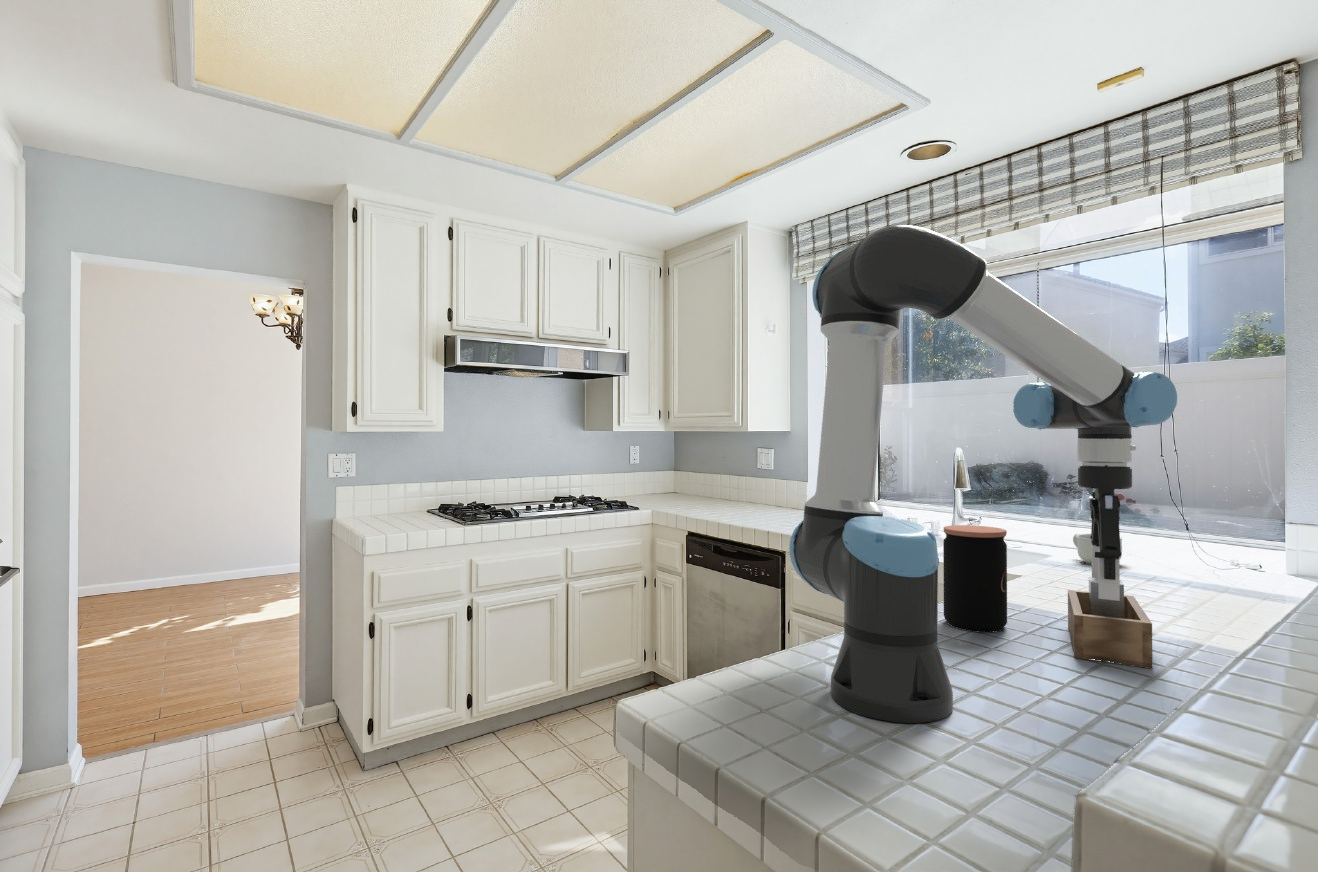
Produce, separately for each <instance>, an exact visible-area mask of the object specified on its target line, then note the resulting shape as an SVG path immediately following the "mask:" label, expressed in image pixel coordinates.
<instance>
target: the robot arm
mask: <svg viewBox="0 0 1318 872" xmlns="http://www.w3.org/2000/svg"><path fill="white" fill-rule="evenodd" d="M811 294H812V302H813V306H814V308H815V311H817V312H818V315H819V317H820V332H821V334H823V336H824V337H825V338H826V339H827V340H828V353H827V354H828V355H827V366H826V373H825V374H826V376H825V387H824V398H823V410H822V412H823V413H822V422H821V431H820V443H819V445H820V446H819V454H818V455H819V456H818V467H817V478H816V488H815V494H814V495H813V496H811V497H810V498H808V500H807V501H805V503H804V508H803V509H804V510H803V518H802V520H801V522H800V523H799V524H798V525H797V526H796V527H795V528H794V530H793V532H792V534H791V537H790V541H789V548H788V549H789V558H790V561H791V564H792V566H793V569H794V570H795V572H796V574H797V575H798V576H799V577H800V578H801V580H803V581H804V582H805V583H806V584H808V586H810V587H812V589H814V590H815V591H818V592H820V593H823V594H824V595H828V596H830V597H832V598H835V599H837V600H839V601H840V602H843V610H844V611H843V622H844V623H843V625H844V626H843V629H844V631H843V632H844V633H843V638H842V642H841V644H840V649H839V650H838V654H837V657H836V660H835V663H834V666H833V668H832V671H831V677H830V695H831V698H832V699H833V700H834V702H836V703H837V704H838V705H840V706H841V707H842V708H844V709H846V710H848V711H850V712H853V713H855V714H858V715H860V716H864V717H867V718H872V719H874V720H875V719H876V720H881V721H886V722H893V723H906V724H907V723H908V724H914V723H915V724H918V723H919V724H920V723H930V722H935V721H939V720H942V719H944V718H946V717H949V716H950V715H951V714H952V712H953V711H954V703H953V702H954V699H953V698H954V697H953V696H954V694H953V688H952V685H951V681H950V679H949V676H948V672H947V670H946V665H945V664H944V660H943V658H942V655H941V654H942V653H941V651H940V648H939V641H938V637H939V635H938V632H939V631H938V628H939V627H938V625H939V623H938V619H939V618H938V613H939V612H938V609H939V608H938V607H939V605H938V604H939V603H938V602H939V601H938V598H939V597H938V596H939V594H938V593H939V591H938V590H939V588H938V587H939V586H938V585H939V584H938V583H939V582H938V581H939V573H938V572H939V569H938V568H939V564H940V559H939V553H938V543H937V538H936V536H935V534H934V533H933V532H932V531H931V529H929V527H926V526H925V525H923V524H920V523H918V522H914V521H911V520H909V519H908V520H907V519H902V518H901V519H898V518H895V517H892V516H883V515H884V511H883V509H881V507H880V506H879V505H878V504H877V502H876V501H875V488H876V476H877V474H876V473H877V465H878V464H877V463H878V451H879V442H880V441H879V439H880V429H881V428H880V427H881V419H882V418H881V417H882V406H883V405H882V404H883V395H884V394H883V392H884V381H885V373H886V371H885V370H886V369H885V368H886V357H887V347H888V346H887V345H888V344H889V342H890V341H892V340H893V339H894V338H895V337H896V336H898V335H899V329H900V328H899V327H900V319H901V318H900V317H901V311H902V310H903V309H913V310H917V311H918V310H919V311H921V312H924V313H925V314H927V315H929V316H930V317H932V318H934V319H935V320H937V321H943V320H947V319H949V320H951V321H952V322H954V323H956V324H957V325H959V326H960V327H962V328H963V329H964V330H966V331H968V332H969V333H970V334H972V335H973V336H975V337H977V338H978V339H980V340H981V341H983V342H984V343H986V344H987V345H989V346H990V347H991V348H993V349H995V350H997V351H998V352H1000V353H1001V354H1002V355H1004V356H1006V357H1007V358H1008V359H1010V360H1011V361H1013V362H1014V363H1016V364H1018V365H1019V366H1021V367H1022V368H1024V369H1025V370H1027V371H1029V372H1030V373H1031V374H1033V375H1035V376H1036V377H1038V378H1039V379H1041V381H1042V382H1033V383H1032V382H1030V383H1026V384H1025V385H1023V386H1021V387H1020V388H1019V389H1018V391H1017V392H1016V394H1014V395H1015V396H1014V398H1013V401H1012V402H1013V403H1012V404H1013V415H1014V417H1015V419H1016V421H1017V422H1018V423H1019V424H1020V425H1021V426H1023V427H1025V428H1029V429H1037V430H1040V431H1041V430H1047V429H1049V430H1051V429H1052V430H1057V429H1058V430H1063V429H1064V430H1068V429H1069V430H1070V429H1071V430H1073V429H1074V430H1077V461H1078V462H1079V463H1081V465H1079V467H1077V485H1078V486H1079V488H1083V489H1084V488H1086V489H1095V490H1093V491H1092V492H1091V497H1090V498H1089V508H1090V519H1091V531H1090V534H1091V536H1090V538H1091V540H1092V541H1091V543H1092V545H1095V546H1092V564H1091V578H1098V582H1099V599H1107V600H1116V601H1120V580H1121V578H1120V570H1121V569H1120V563H1121V562H1120V561H1121V559H1119V557H1121V558H1122V556H1121V555H1123V551H1122V552H1121V549H1120V537H1121V535H1120V533H1121V532H1120V519H1121V518H1120V510H1121V501H1120V498H1119V496H1118V495H1115V490H1129V489H1131V488H1132V487H1133V468H1131V466H1128V464H1130V463H1132V455H1133V454H1132V452H1134V451H1136V450H1137V446H1136V445H1134V444H1132V438H1133V437H1132V435H1133V434H1132V428H1139V427H1145V426H1146V427H1147V426H1156V425H1160V424H1162V423H1165V422H1166V421H1167V420H1169V419H1170V418H1171V417H1172V415H1173V414H1174V412H1175V408H1176V407H1177V404H1178V393H1177V389H1176V388H1177V387H1176V386H1175V384H1174V383H1173V380H1171V379H1170V378H1169V377H1168V376H1166V375H1165V374H1163V373H1159V372H1147V371H1139V373H1137V372H1133V371H1131V370H1130V368H1127V367H1126V366H1124V365H1122V364H1121V363H1120V362H1119V361H1117V360H1115V359H1114V358H1113V357H1111V356H1110V355H1108V354H1106V353H1105V352H1103V351H1102V350H1101V349H1100V348H1098V347H1097V346H1095V345H1093V343H1091V342H1089V341H1088V340H1087V339H1085V338H1084V337H1082V336H1081V335H1079V334H1078V333H1076V332H1075V331H1073V330H1072V329H1071V328H1069V327H1067V326H1066V324H1065V325H1064V323H1062V322H1061V321H1059V320H1057V318H1054V317H1053V316H1052V315H1050V314H1049V313H1048V312H1046V311H1045V310H1043V309H1041V308H1040V307H1039V306H1037V305H1036V304H1034V303H1033V302H1032V301H1030V300H1029V299H1027V298H1026V297H1024V296H1023V295H1021V294H1020V293H1018V292H1017V291H1016V290H1015V289H1012V288H1011V287H1010V286H1009V285H1008V284H1005V283H1004V282H1003V281H1001V280H1000V279H998V278H997V277H995V276H994V275H992V274H991V273H989V272H988V264H987V261H986V260H985V259H983V258H982V257H981V256H980V255H978V254H977V253H975V252H974V251H972V250H970V249H969V248H968V247H966V246H964V245H963V244H961V243H959V242H957V241H955V240H953V239H952V238H949V237H947V236H945V235H943V234H941V233H938V232H937V231H936V232H935V231H933V230H931V229H928V228H924V227H921V226H920V227H919V226H916V225H907V224H896V225H888V226H885V227H882V228H880V229H878V230H875V231H874V232H872V233H869V235H868V236H866V237H865V238H863V239H862V240H859V241H858V242H856V243H855V244H853V245H852V246H850V247H847V248H845V249H842V250H841V251H838V252H837V253H836V254H833V256H832V257H831V258H829V259H828V260H827V261H826V262H825V264H823V265H822V266H821V268H820V269H819V270H818V272H817V274H816V276H815V278H814V281H813V285H812V293H811Z"/></svg>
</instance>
